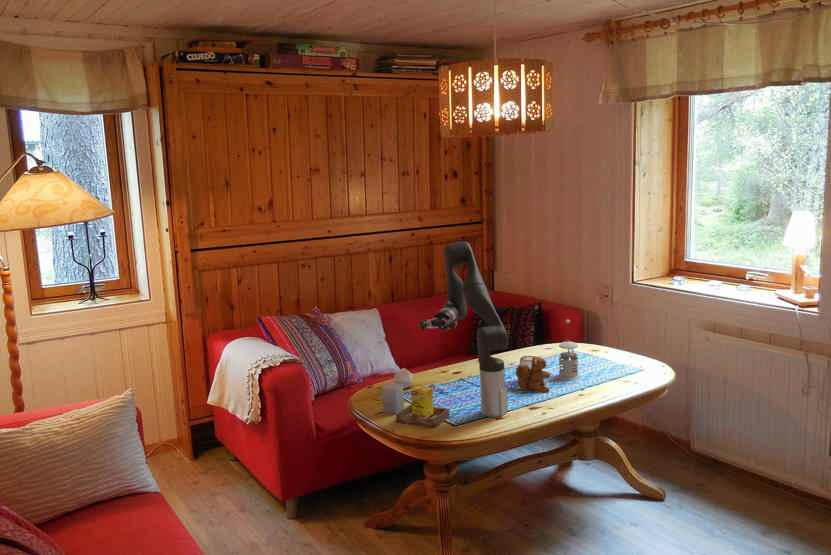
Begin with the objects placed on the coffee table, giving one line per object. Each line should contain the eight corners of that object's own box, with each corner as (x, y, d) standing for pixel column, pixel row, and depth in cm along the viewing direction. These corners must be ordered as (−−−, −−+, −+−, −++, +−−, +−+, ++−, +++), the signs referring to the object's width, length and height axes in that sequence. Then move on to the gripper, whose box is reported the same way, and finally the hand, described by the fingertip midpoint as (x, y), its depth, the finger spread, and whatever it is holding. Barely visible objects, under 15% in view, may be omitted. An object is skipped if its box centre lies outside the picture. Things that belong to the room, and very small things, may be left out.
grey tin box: (404, 409, 274) (402, 384, 272) (396, 414, 269) (395, 389, 267) (390, 407, 277) (389, 382, 275) (383, 412, 271) (381, 387, 270)
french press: (555, 379, 299) (554, 321, 295) (559, 371, 310) (558, 315, 306) (578, 380, 296) (578, 322, 292) (582, 372, 307) (581, 316, 302)
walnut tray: (449, 416, 263) (449, 408, 263) (435, 427, 253) (434, 419, 253) (412, 411, 271) (411, 403, 270) (396, 422, 261) (396, 414, 260)
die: (416, 390, 297) (418, 369, 301) (400, 385, 292) (402, 363, 296) (403, 393, 302) (405, 372, 307) (388, 388, 297) (390, 366, 302)
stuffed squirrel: (551, 392, 283) (550, 361, 281) (515, 392, 285) (514, 361, 283) (549, 384, 293) (549, 354, 291) (515, 384, 295) (514, 354, 293)
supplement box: (412, 418, 261) (410, 390, 259) (420, 413, 266) (419, 385, 264) (425, 421, 258) (423, 392, 256) (434, 415, 263) (432, 387, 261)
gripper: (427, 309, 292) (415, 318, 277) (461, 309, 288) (450, 319, 272) (428, 326, 293) (416, 336, 278) (461, 327, 289) (451, 337, 274)
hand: (433, 328), depth 275 cm, fingers open, 8 cm apart
